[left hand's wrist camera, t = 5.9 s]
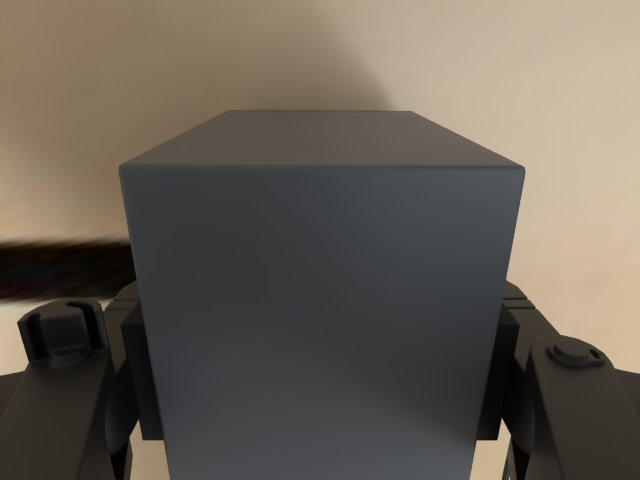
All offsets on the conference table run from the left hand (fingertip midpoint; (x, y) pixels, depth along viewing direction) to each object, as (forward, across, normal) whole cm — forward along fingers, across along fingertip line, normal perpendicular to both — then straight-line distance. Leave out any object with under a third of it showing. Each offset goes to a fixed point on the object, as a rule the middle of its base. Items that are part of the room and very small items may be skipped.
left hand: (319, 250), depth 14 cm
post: (+1, 0, -23) cm, 23 cm away
